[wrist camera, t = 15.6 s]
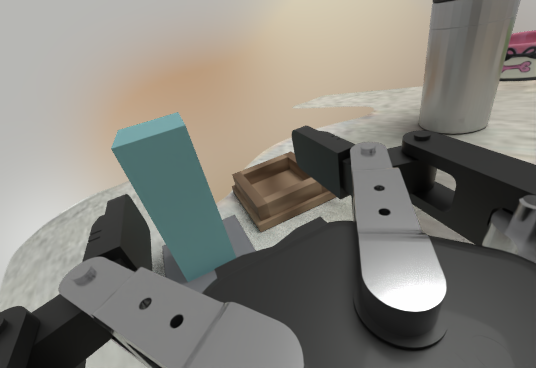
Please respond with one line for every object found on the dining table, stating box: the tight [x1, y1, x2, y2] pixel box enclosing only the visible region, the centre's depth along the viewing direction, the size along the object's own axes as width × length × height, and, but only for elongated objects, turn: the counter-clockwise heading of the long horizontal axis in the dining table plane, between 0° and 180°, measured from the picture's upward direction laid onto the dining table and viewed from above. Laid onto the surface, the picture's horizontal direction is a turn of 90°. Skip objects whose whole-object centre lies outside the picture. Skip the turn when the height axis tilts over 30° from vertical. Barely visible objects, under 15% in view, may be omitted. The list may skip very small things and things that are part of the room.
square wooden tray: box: [232, 152, 337, 232], centre depth 33 cm, size 10×10×3 cm
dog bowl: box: [499, 30, 536, 81], centre depth 55 cm, size 18×19×7 cm
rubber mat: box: [162, 215, 256, 293], centre depth 27 cm, size 9×9×1 cm
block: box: [111, 112, 236, 282], centre depth 23 cm, size 5×5×14 cm
